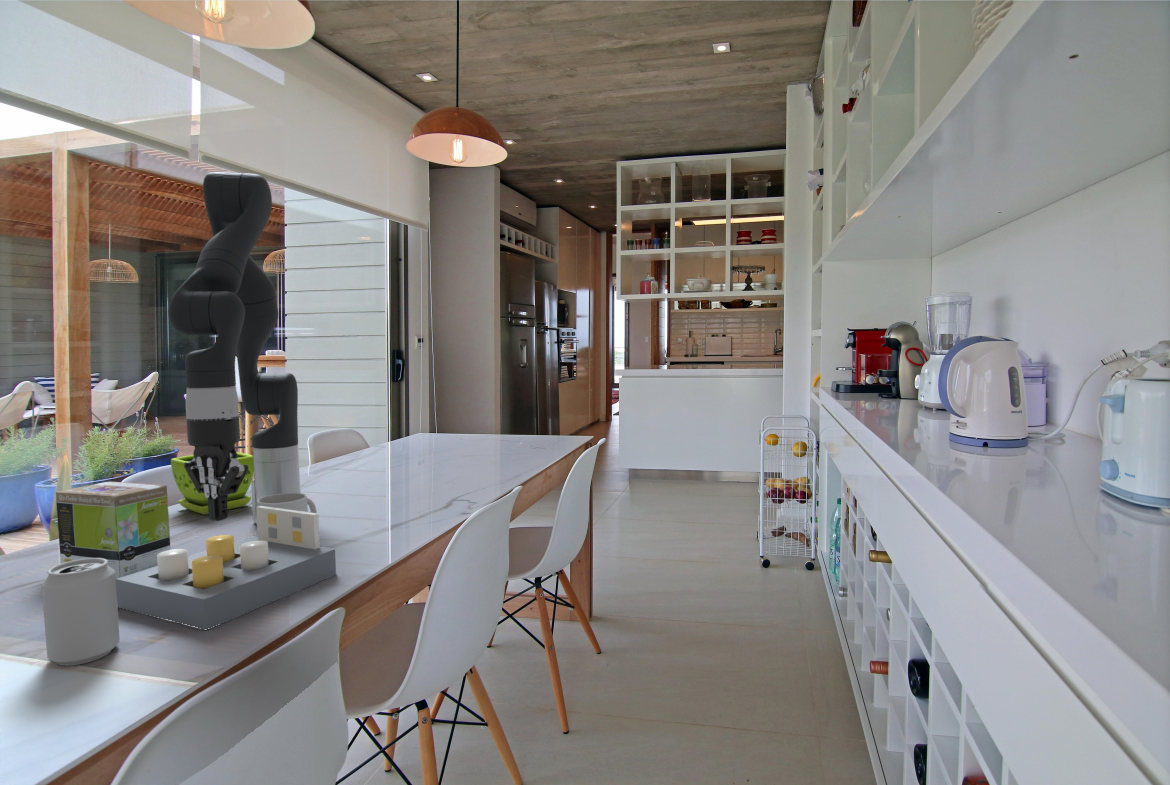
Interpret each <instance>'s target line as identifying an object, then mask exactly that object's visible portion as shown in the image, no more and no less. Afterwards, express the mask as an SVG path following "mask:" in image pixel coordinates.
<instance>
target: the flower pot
mask: <svg viewBox="0 0 1170 785" xmlns="http://www.w3.org/2000/svg"><path fill="white" fill-rule="evenodd" d="M236 452H237V460H238V461H239V463H240V464H241V465H244V464H246V465H248V471H247V473H246V475H245V477H244V479H243V481H242V483H241V484H240V486H239V488H238V490H237V492H236V493H232V494H229V496H227V506H228V509H227V510H228V511H229V510H233V509H236V508H244V506H246V505H247V504H248V503H249V502H250V501H252V496H250V495H246V494H247V492H248V491H249V488H250V487H251V482H252V480H253V478H254V468H253V454H250V453H243V452H239V451H236ZM193 458H194V456H193V454H191V455H185V456H178V457H174V458H171V459H170V466H171V472H172V475H173V479H174V481H175V484H176V487H177V488H178V490H179V492H180V493H181V495H182V496H183V498H181V499H179V500H178V504H179V505H181V507H182V508H185V509H187V510H188V511H192V512H195V513H198V514H201V515H203V516H205V515H209V514H208V498H206V497H205V494H204V493H198V491H197V489H196V488H195V486H194V484H193V482H192V480H191V478H190V477H189V475H188V473H187V471H186V469H185V467H184V463H185V462H190V461H192V459H193ZM202 485H203V484H202Z"/></svg>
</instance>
